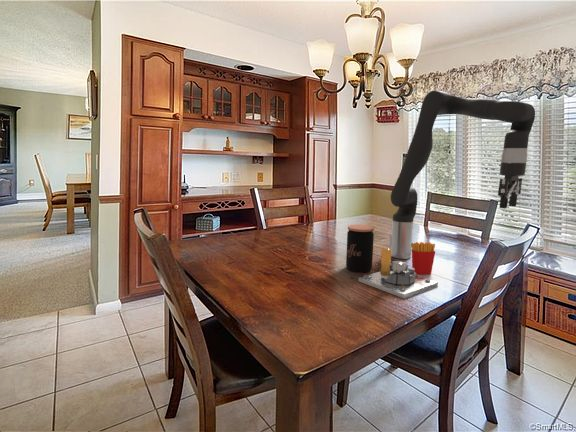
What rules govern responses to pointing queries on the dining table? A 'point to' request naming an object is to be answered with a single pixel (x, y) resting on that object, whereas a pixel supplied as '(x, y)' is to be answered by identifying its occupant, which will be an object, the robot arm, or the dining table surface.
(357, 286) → the dining table surface
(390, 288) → the flange plate
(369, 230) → the coffee jar
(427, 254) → the french fries
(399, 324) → the dining table surface
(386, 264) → the spiky gray ring
